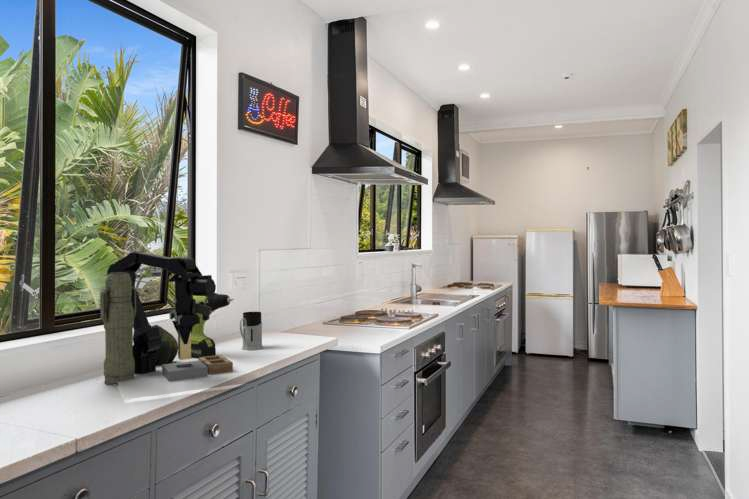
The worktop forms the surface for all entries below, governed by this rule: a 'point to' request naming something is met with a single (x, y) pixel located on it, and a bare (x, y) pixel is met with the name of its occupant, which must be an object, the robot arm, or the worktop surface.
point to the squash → (166, 347)
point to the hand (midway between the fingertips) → (184, 343)
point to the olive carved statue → (118, 327)
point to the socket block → (184, 370)
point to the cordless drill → (199, 340)
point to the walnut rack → (217, 364)
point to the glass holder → (251, 331)
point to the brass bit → (184, 348)
